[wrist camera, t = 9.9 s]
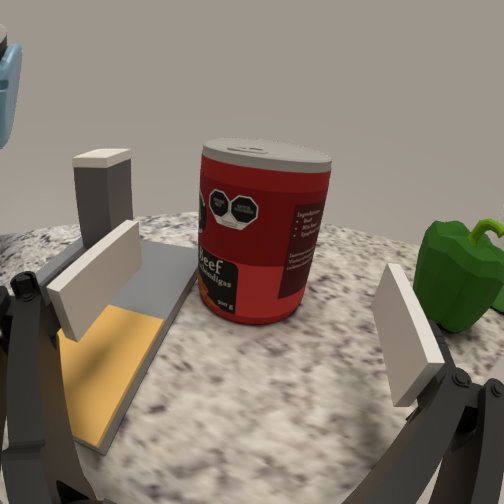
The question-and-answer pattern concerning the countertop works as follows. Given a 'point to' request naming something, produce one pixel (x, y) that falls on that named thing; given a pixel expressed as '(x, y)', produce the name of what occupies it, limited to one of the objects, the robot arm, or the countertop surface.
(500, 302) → the wine bottle
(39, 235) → the countertop surface
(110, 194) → the toggle
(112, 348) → the panel
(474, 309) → the bell pepper
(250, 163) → the canned food
